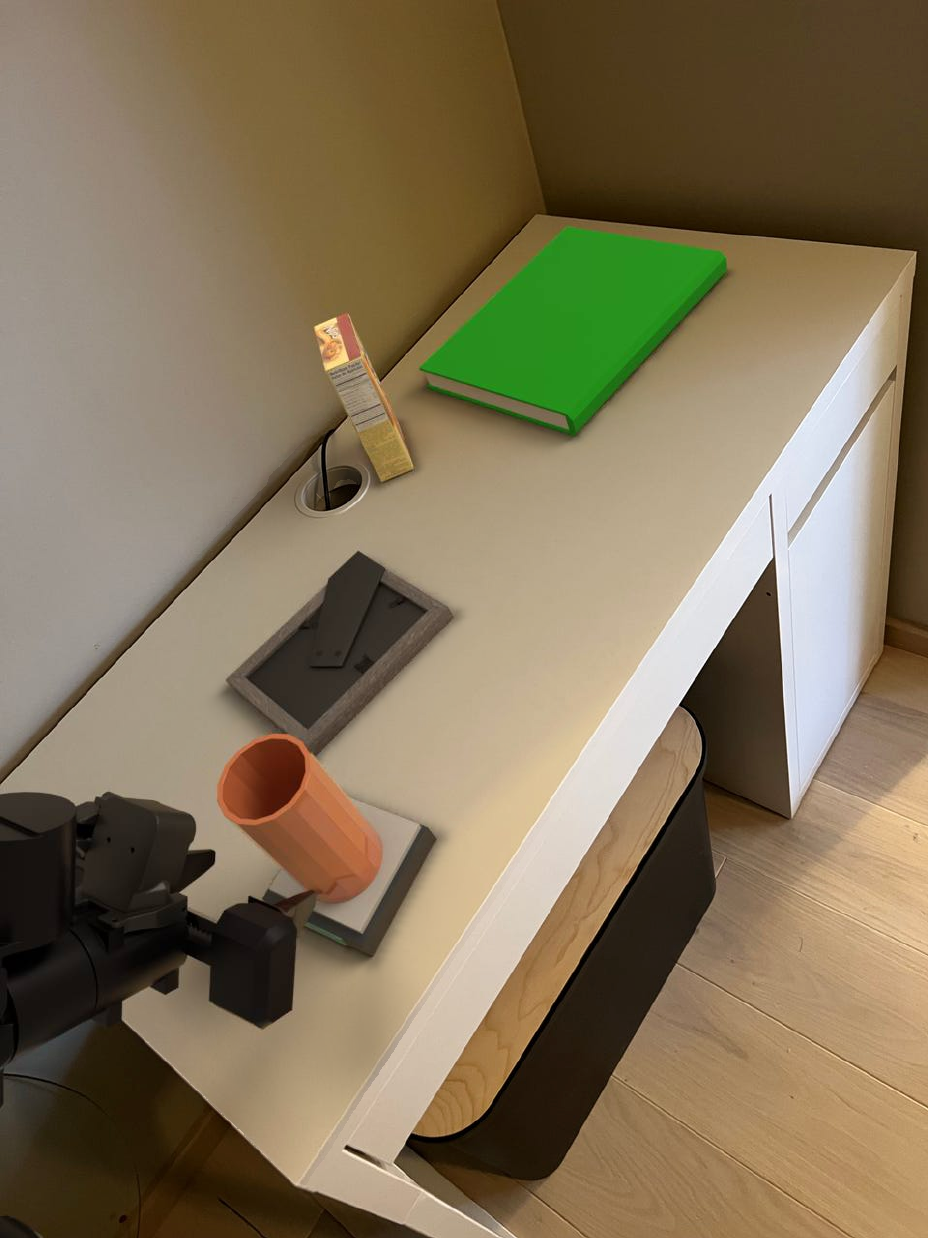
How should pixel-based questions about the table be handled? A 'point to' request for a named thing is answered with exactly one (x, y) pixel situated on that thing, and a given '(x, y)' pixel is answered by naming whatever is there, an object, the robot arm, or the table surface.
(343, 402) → the candy box
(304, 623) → the picture frame
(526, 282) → the book
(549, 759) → the table surface
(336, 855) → the cup
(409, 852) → the scale
